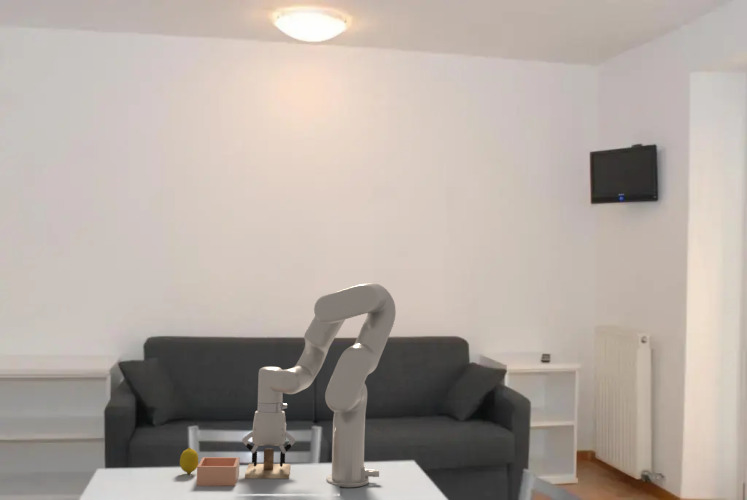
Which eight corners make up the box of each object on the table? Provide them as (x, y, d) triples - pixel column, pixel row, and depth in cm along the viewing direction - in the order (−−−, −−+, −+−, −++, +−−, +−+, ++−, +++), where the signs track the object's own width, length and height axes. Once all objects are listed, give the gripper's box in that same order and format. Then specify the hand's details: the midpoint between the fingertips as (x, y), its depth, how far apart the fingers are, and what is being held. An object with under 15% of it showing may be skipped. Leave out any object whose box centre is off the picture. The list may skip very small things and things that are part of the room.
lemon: (193, 477, 239) (194, 450, 239) (176, 475, 240) (177, 449, 240) (201, 472, 244) (201, 446, 244) (184, 471, 245) (185, 445, 245)
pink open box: (239, 477, 240) (239, 457, 240) (235, 487, 229) (235, 466, 229) (202, 477, 239) (202, 457, 239) (196, 487, 228) (197, 466, 228)
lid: (290, 467, 251) (290, 444, 251) (288, 478, 238) (289, 454, 238) (248, 466, 250) (249, 444, 250) (244, 478, 237) (245, 454, 237)
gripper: (298, 405, 248) (297, 462, 248) (242, 404, 247) (240, 462, 247) (298, 410, 241) (296, 468, 241) (240, 409, 240) (238, 468, 239)
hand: (268, 465), depth 244 cm, fingers open, 7 cm apart
